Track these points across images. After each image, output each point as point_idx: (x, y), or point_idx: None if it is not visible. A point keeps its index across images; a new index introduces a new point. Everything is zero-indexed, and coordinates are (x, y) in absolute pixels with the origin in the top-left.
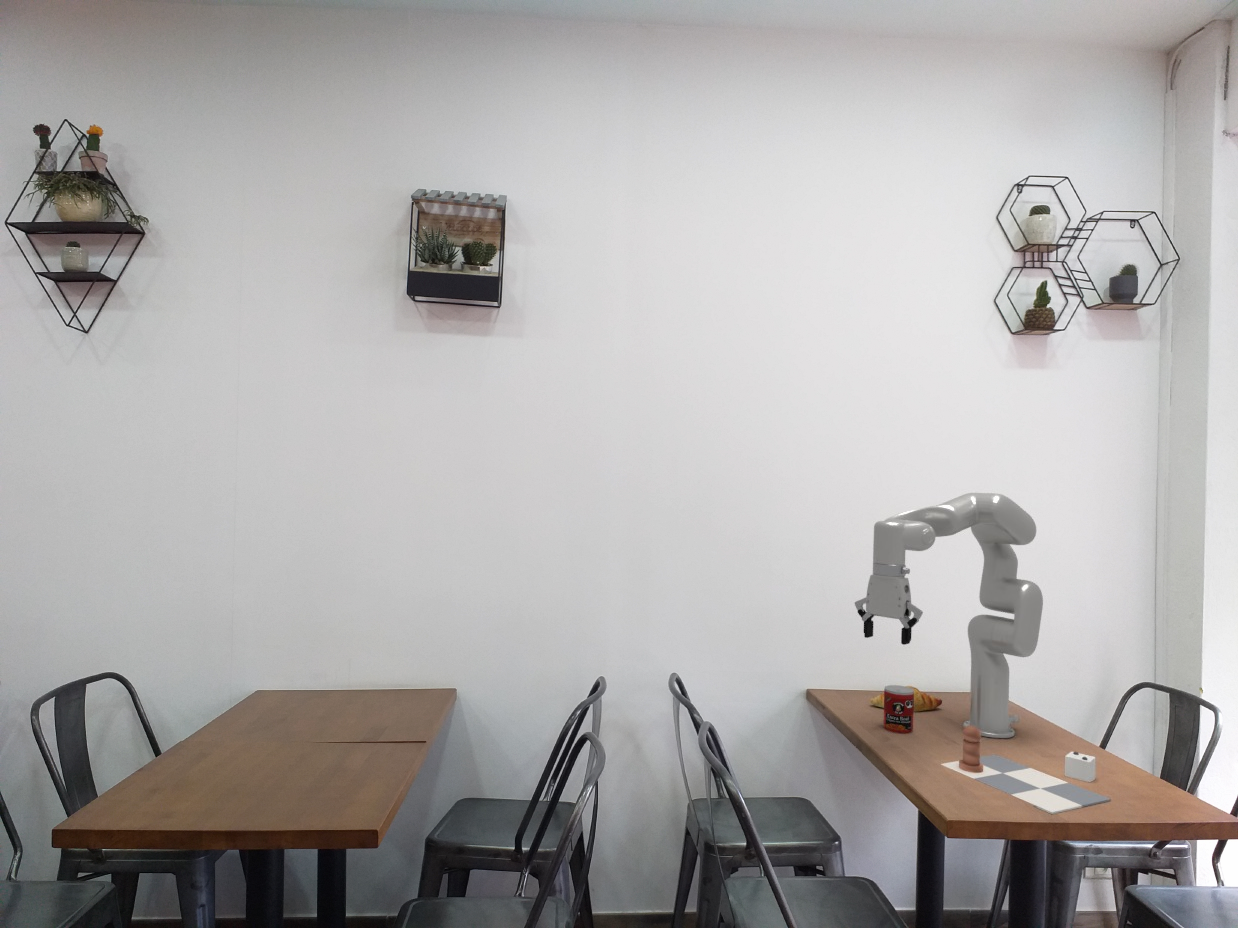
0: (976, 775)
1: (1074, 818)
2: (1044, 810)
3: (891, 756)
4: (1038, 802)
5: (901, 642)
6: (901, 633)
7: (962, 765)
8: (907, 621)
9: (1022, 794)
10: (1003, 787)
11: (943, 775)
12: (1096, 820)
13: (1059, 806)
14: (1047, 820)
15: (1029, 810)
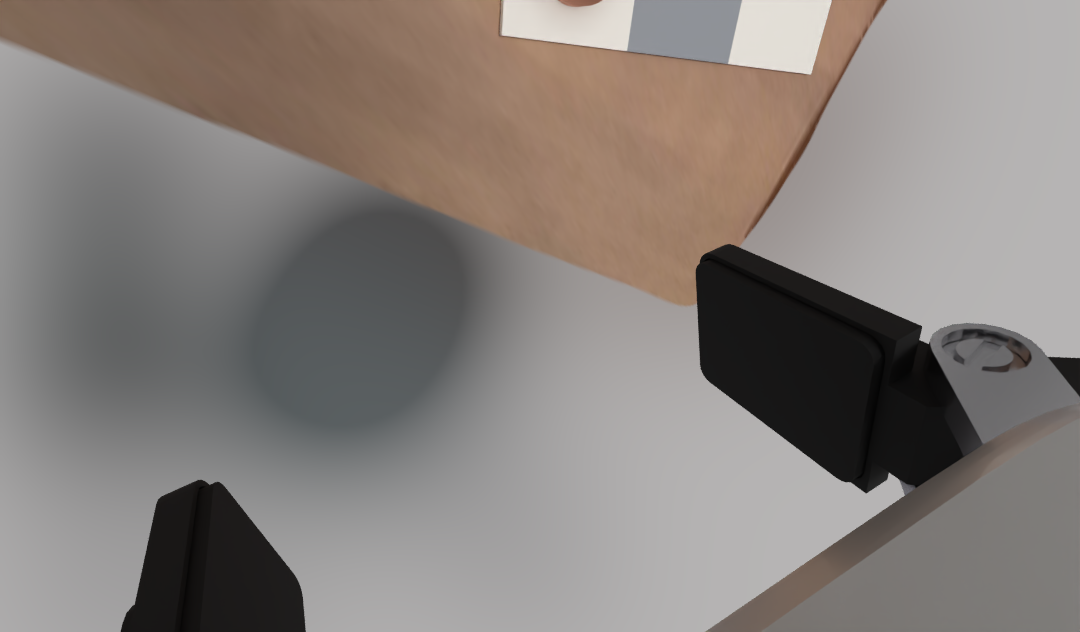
0: (618, 12)
1: (840, 44)
2: (794, 72)
3: (357, 137)
4: (780, 43)
5: (712, 380)
6: (789, 441)
7: (575, 4)
8: (995, 434)
9: (744, 28)
10: (700, 29)
11: (559, 111)
12: (870, 2)
13: (815, 14)
14: (807, 119)
15: (773, 106)
